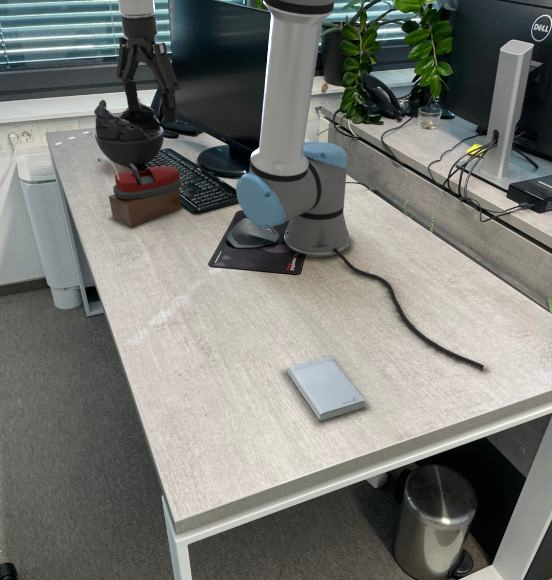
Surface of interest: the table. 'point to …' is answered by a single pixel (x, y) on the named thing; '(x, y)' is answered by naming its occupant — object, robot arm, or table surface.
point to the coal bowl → (128, 135)
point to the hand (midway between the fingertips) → (151, 116)
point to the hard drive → (326, 388)
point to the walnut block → (143, 208)
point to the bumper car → (145, 182)
